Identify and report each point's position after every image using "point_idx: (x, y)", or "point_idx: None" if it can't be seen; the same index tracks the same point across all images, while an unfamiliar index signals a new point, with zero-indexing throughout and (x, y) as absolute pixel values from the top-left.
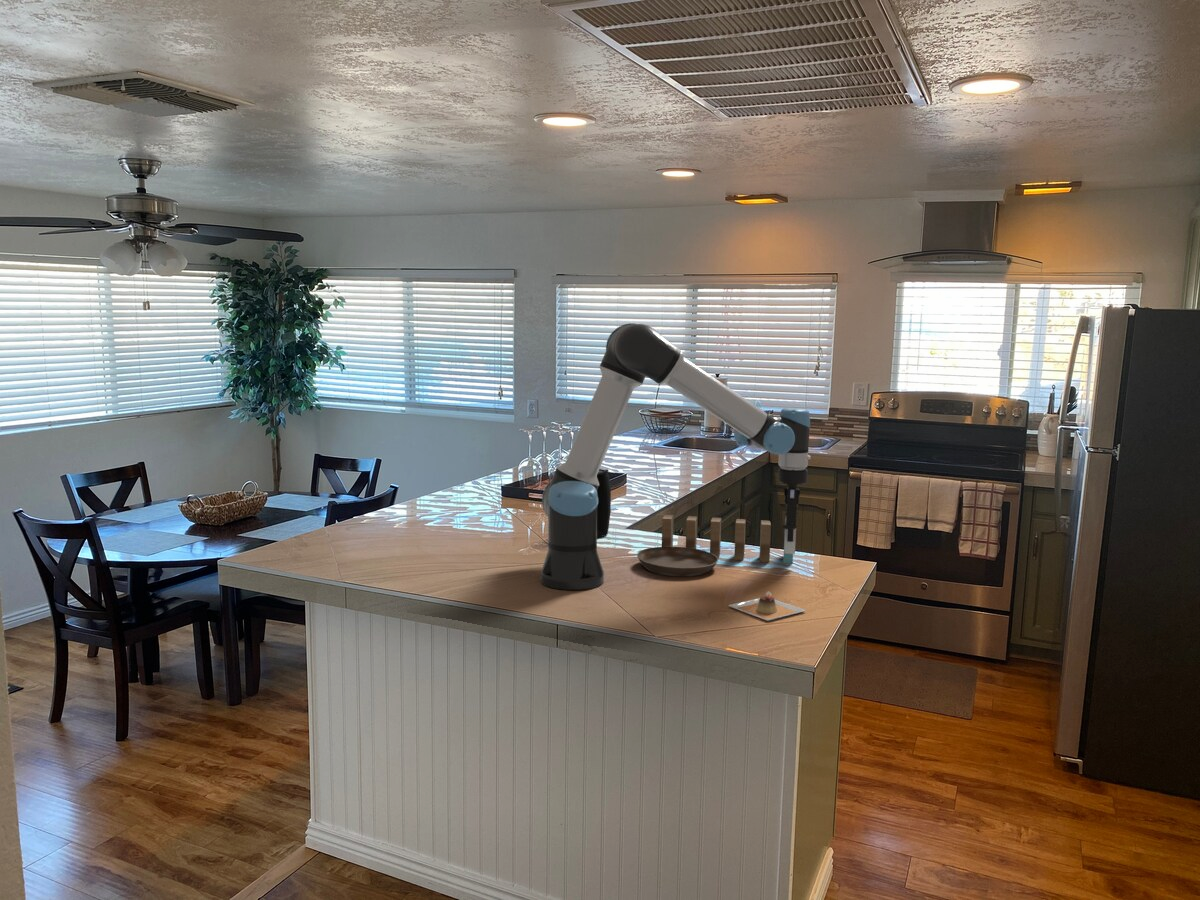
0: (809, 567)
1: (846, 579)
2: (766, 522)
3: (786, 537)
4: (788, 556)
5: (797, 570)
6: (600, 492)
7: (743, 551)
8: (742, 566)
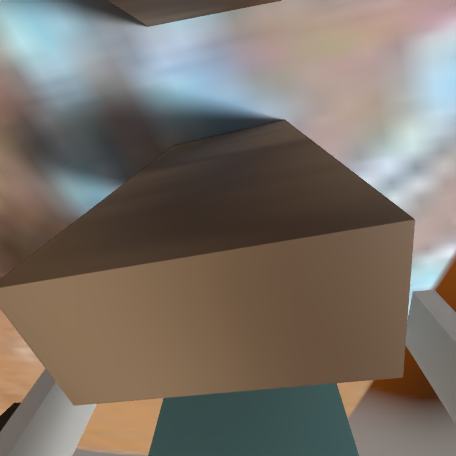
0: None
1: (97, 425)
2: (215, 342)
3: (18, 423)
4: None
5: None
6: None
7: (121, 8)
8: (3, 57)
